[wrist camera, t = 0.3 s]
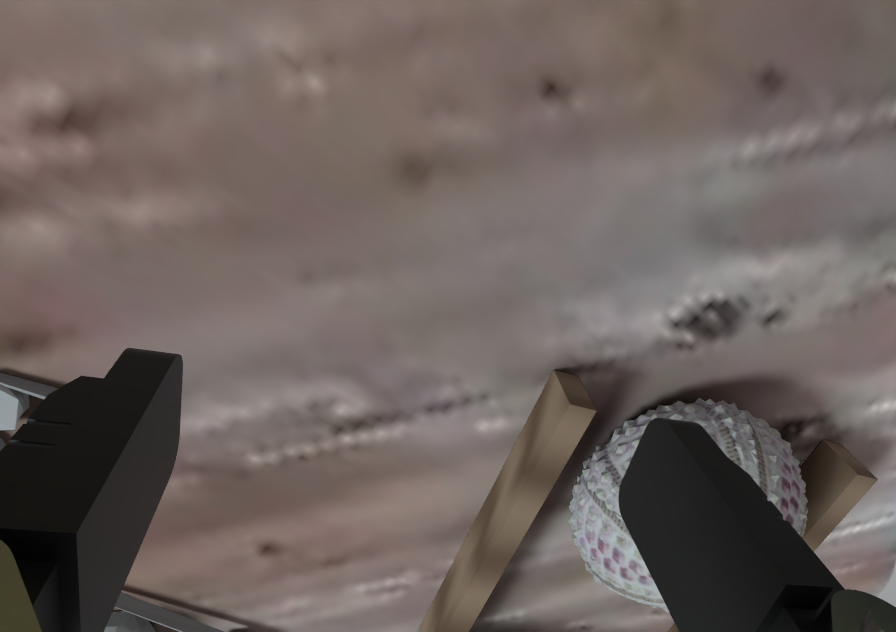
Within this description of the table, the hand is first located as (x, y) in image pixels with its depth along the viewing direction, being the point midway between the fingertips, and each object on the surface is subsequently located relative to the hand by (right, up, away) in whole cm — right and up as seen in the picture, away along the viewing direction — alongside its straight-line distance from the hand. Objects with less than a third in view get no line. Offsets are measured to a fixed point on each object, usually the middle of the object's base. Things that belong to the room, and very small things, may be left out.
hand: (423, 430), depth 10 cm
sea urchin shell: (+14, -7, +26) cm, 31 cm away
